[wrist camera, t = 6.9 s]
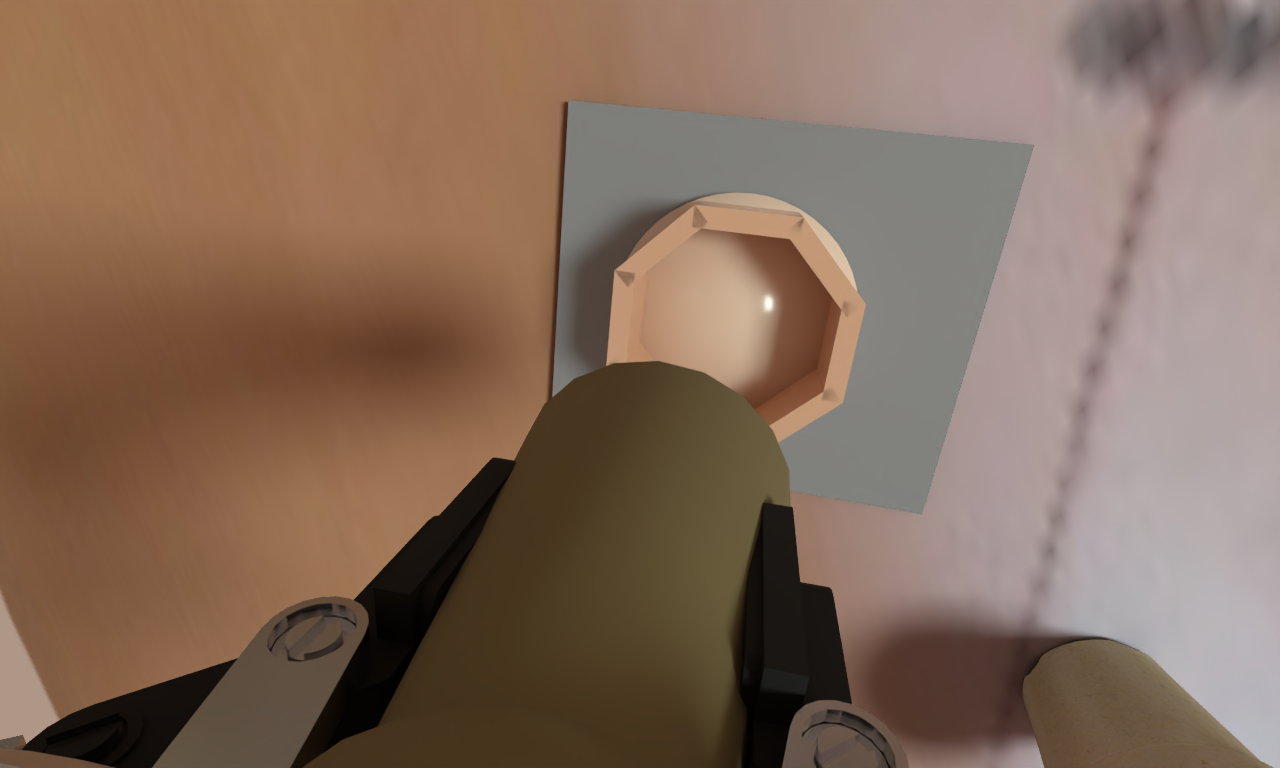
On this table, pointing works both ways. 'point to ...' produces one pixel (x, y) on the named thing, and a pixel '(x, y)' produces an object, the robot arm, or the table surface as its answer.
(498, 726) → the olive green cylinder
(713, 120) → the felt mat
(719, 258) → the peach octagonal bowl
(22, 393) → the table surface
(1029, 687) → the flower pot
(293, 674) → the robot arm
